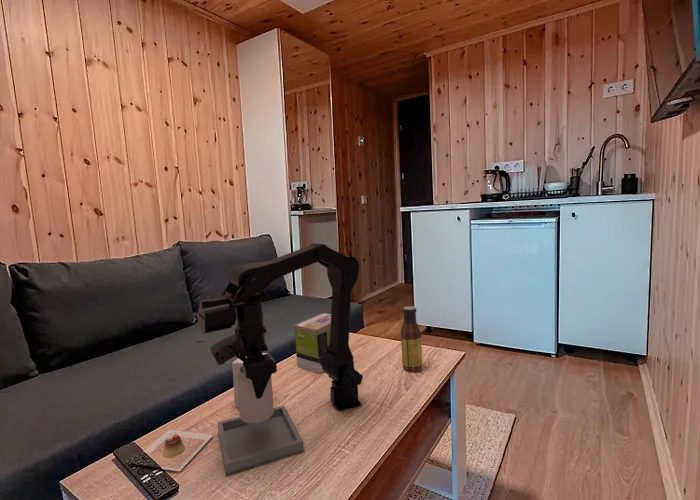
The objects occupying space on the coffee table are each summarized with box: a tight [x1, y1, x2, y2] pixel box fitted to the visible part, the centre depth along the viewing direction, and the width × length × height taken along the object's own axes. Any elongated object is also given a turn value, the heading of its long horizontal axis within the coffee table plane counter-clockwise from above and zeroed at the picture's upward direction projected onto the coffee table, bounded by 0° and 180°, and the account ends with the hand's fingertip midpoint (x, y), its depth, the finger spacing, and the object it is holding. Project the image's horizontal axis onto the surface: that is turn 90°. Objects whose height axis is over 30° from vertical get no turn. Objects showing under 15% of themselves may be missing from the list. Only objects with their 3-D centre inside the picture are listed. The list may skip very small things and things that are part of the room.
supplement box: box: [231, 352, 269, 409], centre depth 100 cm, size 7×7×13 cm
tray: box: [217, 405, 305, 477], centre depth 84 cm, size 16×16×2 cm
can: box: [237, 366, 275, 425], centre depth 84 cm, size 8×8×12 cm
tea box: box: [294, 312, 331, 374], centre depth 124 cm, size 15×10×15 cm
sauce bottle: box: [400, 305, 423, 372], centre depth 117 cm, size 6×6×20 cm
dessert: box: [143, 429, 214, 472], centre depth 82 cm, size 12×12×5 cm
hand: (255, 390), depth 84 cm, fingers closed on can, 7 cm apart
